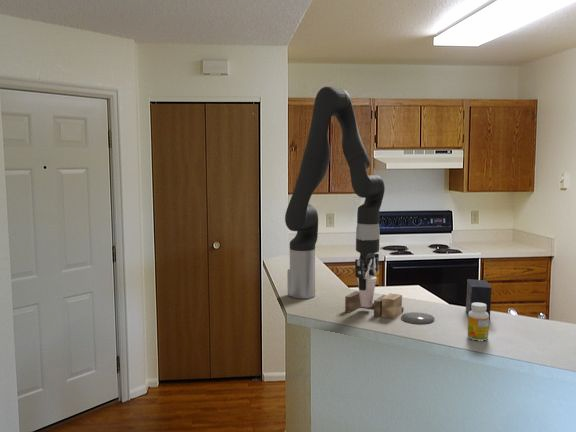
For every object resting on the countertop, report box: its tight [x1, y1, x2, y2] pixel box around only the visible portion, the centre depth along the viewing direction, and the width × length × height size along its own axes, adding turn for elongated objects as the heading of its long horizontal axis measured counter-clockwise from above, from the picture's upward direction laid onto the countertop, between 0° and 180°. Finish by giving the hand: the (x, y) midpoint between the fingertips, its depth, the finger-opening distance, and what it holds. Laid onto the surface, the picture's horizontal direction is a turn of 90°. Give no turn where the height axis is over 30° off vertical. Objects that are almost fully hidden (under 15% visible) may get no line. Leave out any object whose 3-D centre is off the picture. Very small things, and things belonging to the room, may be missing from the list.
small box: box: [465, 278, 492, 321], centre depth 171 cm, size 11×6×10 cm, turn 168°
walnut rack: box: [344, 290, 405, 319], centre depth 175 cm, size 16×9×6 cm, turn 58°
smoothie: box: [356, 272, 378, 308], centre depth 176 cm, size 6×6×14 cm
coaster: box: [401, 311, 435, 325], centre depth 168 cm, size 10×10×1 cm
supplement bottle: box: [467, 302, 490, 341], centre depth 149 cm, size 5×5×10 cm
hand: (366, 287), depth 176 cm, fingers closed on smoothie, 6 cm apart
